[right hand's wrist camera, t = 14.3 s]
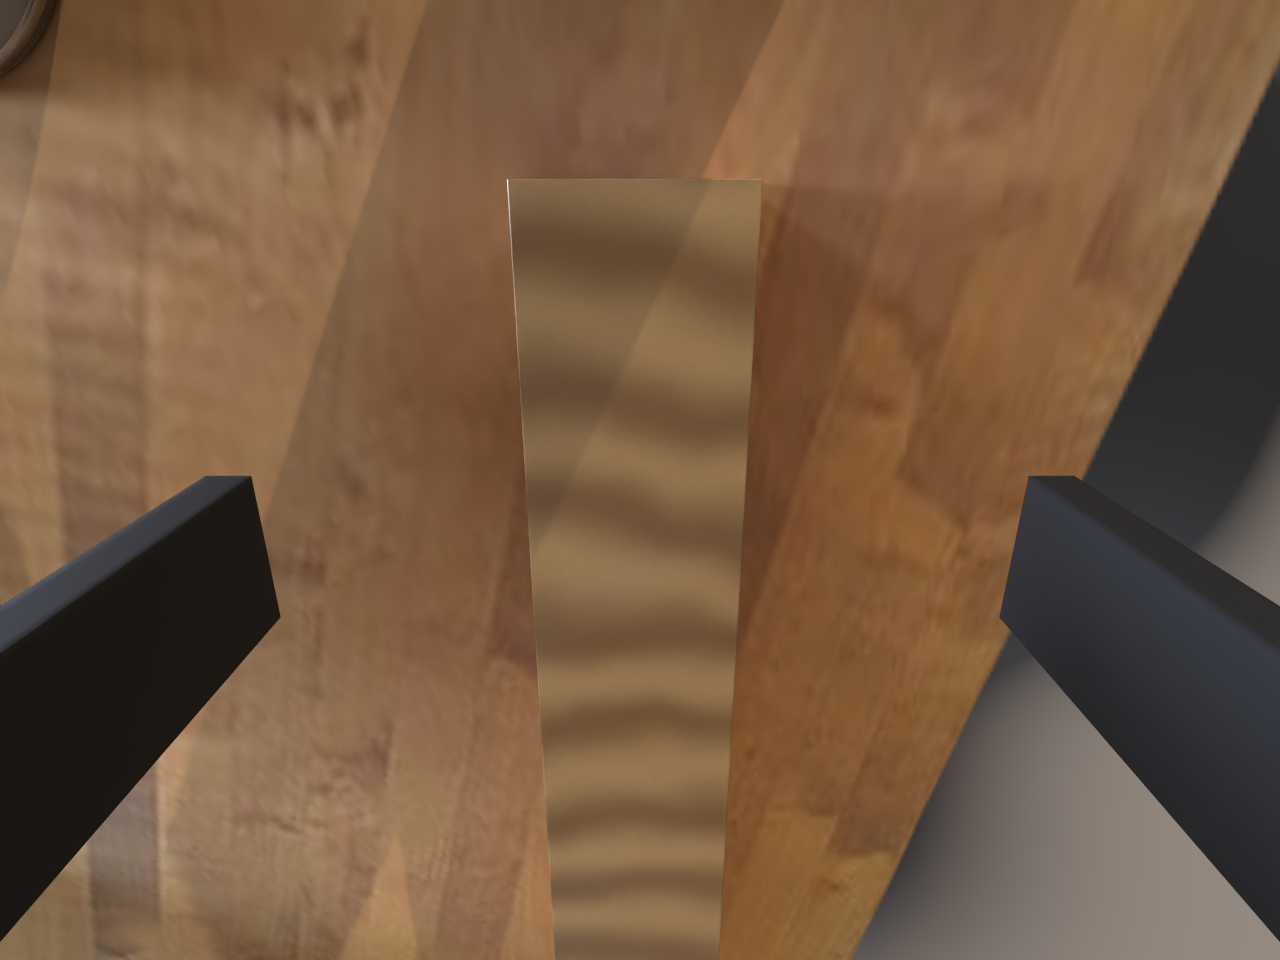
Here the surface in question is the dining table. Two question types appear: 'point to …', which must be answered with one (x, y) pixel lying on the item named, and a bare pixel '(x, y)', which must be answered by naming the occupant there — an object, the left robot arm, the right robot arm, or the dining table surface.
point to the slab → (635, 540)
